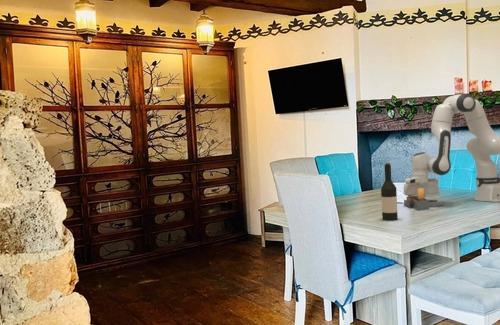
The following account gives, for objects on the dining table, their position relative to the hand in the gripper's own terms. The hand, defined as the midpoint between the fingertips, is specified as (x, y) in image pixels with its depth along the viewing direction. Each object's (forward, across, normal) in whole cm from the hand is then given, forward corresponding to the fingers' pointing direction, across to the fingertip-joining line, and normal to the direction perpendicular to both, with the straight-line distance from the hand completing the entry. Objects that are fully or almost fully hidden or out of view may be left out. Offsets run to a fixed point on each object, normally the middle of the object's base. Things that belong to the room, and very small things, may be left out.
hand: (421, 201), depth 266 cm
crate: (+2, +5, 0) cm, 5 cm away
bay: (+2, -1, 0) cm, 3 cm away
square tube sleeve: (+2, +4, +9) cm, 10 cm away
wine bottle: (+3, +29, +33) cm, 44 cm away
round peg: (-1, +4, +10) cm, 10 cm away
